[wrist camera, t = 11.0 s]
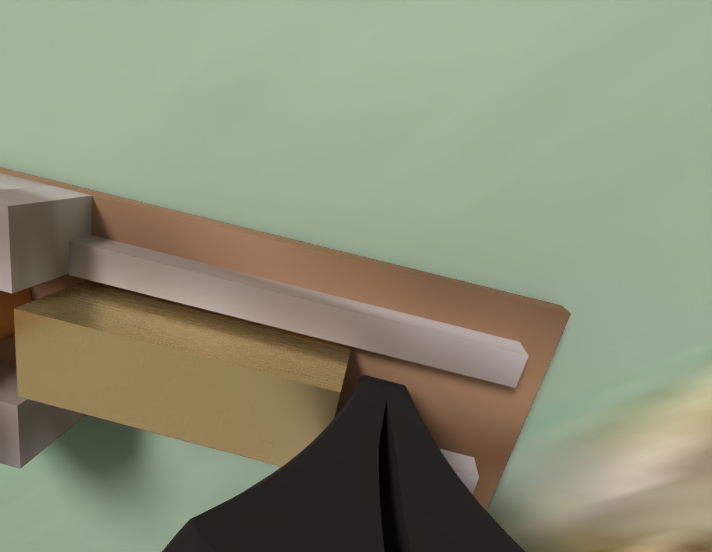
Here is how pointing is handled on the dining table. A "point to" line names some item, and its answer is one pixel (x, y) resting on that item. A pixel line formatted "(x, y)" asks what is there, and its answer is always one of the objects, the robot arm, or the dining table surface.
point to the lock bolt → (178, 370)
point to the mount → (285, 313)
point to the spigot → (11, 310)
